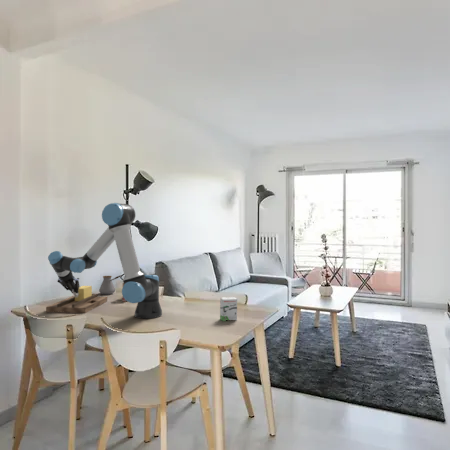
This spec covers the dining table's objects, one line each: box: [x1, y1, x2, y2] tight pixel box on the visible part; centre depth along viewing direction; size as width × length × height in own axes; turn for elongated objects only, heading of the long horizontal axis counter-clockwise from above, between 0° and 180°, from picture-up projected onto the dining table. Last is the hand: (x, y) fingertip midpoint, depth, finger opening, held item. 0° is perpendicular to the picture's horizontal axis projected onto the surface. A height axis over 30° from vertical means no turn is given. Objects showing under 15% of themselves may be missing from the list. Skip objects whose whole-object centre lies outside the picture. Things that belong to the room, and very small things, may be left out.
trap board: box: [45, 293, 108, 314], centre depth 239 cm, size 24×32×5 cm
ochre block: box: [75, 285, 93, 301], centre depth 245 cm, size 6×10×8 cm, turn 171°
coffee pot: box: [98, 274, 124, 296], centre depth 278 cm, size 21×12×15 cm, turn 58°
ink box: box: [219, 296, 238, 322], centre depth 208 cm, size 9×5×12 cm, turn 103°
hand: (77, 295), depth 239 cm, fingers closed
